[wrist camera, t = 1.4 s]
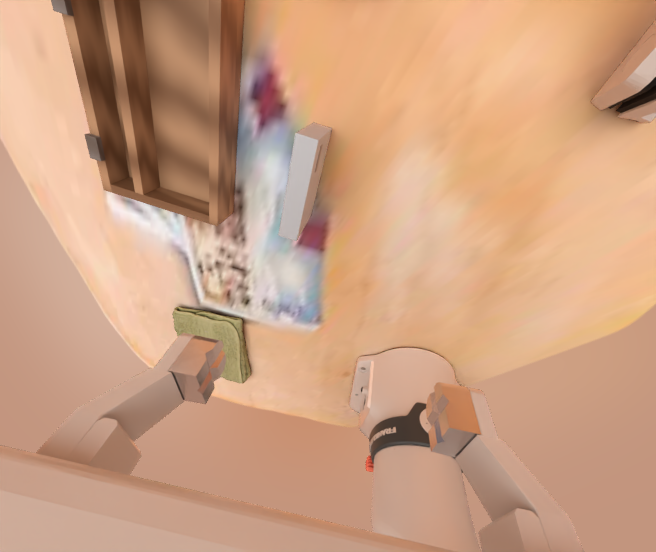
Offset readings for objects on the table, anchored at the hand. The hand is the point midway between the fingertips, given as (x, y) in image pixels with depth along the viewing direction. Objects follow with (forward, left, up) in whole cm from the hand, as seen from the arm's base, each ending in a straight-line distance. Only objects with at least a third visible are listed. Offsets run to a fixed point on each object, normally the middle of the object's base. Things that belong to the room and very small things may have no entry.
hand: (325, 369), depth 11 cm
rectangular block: (-1, +6, -26) cm, 26 cm away
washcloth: (-37, +17, -26) cm, 49 cm away
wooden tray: (+2, +22, -25) cm, 34 cm away
